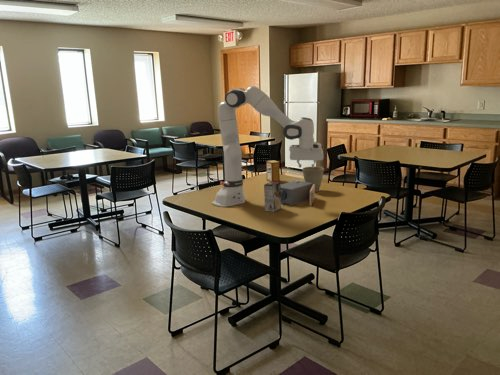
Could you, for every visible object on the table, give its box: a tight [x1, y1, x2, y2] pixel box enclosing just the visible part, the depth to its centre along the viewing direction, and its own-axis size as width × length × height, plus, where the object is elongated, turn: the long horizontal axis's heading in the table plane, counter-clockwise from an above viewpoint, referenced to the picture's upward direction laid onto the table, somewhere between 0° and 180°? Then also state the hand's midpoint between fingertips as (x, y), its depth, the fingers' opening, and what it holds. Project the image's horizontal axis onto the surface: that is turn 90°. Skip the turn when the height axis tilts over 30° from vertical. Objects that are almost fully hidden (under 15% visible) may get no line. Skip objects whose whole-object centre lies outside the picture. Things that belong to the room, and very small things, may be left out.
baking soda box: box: [265, 160, 281, 183], centre depth 319 cm, size 10×6×16 cm
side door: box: [309, 184, 316, 206], centre depth 255 cm, size 20×2×9 cm, turn 165°
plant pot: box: [301, 166, 325, 193], centre depth 284 cm, size 15×15×16 cm
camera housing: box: [280, 180, 313, 206], centre depth 262 cm, size 24×14×11 cm, turn 135°
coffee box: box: [263, 182, 282, 213], centre depth 242 cm, size 9×6×16 cm
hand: (306, 167), depth 248 cm, fingers open, 6 cm apart
